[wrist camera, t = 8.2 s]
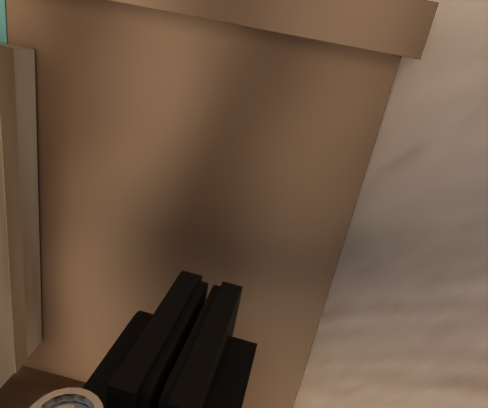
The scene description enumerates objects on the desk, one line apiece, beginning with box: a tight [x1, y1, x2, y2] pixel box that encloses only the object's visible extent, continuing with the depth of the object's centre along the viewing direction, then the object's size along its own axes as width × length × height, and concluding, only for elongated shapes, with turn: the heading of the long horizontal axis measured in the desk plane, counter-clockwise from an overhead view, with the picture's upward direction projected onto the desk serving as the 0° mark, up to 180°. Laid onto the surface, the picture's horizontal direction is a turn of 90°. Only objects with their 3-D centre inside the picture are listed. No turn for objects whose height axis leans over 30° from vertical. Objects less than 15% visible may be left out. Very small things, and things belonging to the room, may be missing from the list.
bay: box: [0, 0, 439, 408], centre depth 15 cm, size 22×18×3 cm
